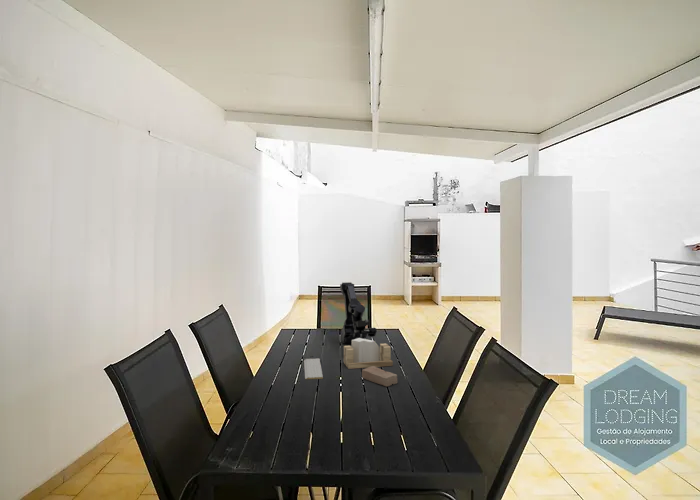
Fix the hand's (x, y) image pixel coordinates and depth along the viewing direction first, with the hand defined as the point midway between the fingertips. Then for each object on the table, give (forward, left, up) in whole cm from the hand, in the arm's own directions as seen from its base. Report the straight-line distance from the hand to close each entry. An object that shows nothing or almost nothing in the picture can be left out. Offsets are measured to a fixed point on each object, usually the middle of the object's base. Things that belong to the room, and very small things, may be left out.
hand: (362, 345), depth 240 cm
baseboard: (-12, -31, -8) cm, 34 cm away
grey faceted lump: (+5, -5, -7) cm, 10 cm away
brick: (+25, -27, -7) cm, 37 cm away
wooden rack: (+8, -8, -7) cm, 13 cm away
